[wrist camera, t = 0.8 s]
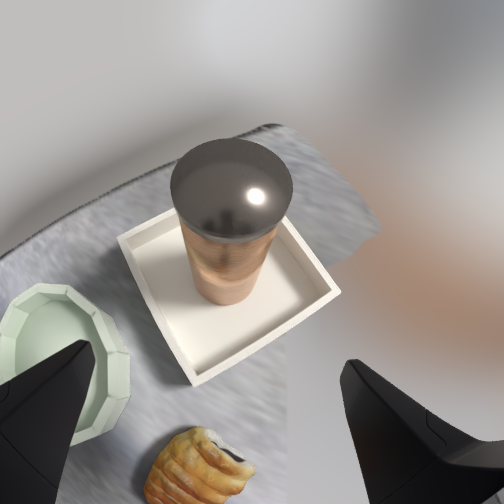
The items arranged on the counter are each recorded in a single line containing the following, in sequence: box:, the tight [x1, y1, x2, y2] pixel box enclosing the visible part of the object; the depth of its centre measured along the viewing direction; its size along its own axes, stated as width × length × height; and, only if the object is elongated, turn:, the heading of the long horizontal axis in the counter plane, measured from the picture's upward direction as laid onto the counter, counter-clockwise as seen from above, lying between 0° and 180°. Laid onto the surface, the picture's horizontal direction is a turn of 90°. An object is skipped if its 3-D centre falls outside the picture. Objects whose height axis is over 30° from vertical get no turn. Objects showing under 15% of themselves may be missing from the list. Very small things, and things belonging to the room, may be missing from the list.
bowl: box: [0, 283, 131, 446], centre depth 17 cm, size 13×13×3 cm
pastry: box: [143, 427, 255, 504], centre depth 15 cm, size 9×7×4 cm
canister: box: [170, 139, 293, 306], centre depth 17 cm, size 5×5×12 cm
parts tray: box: [117, 208, 341, 388], centre depth 22 cm, size 13×13×3 cm
